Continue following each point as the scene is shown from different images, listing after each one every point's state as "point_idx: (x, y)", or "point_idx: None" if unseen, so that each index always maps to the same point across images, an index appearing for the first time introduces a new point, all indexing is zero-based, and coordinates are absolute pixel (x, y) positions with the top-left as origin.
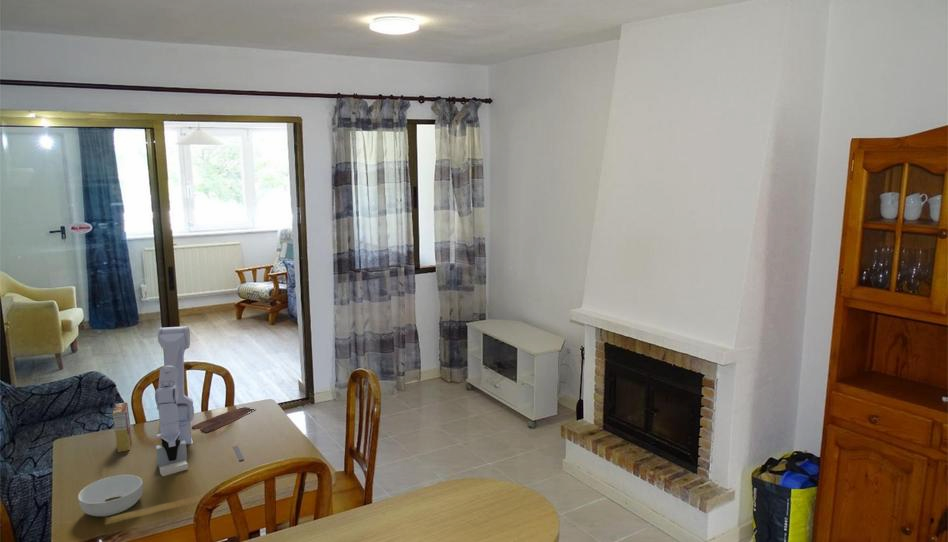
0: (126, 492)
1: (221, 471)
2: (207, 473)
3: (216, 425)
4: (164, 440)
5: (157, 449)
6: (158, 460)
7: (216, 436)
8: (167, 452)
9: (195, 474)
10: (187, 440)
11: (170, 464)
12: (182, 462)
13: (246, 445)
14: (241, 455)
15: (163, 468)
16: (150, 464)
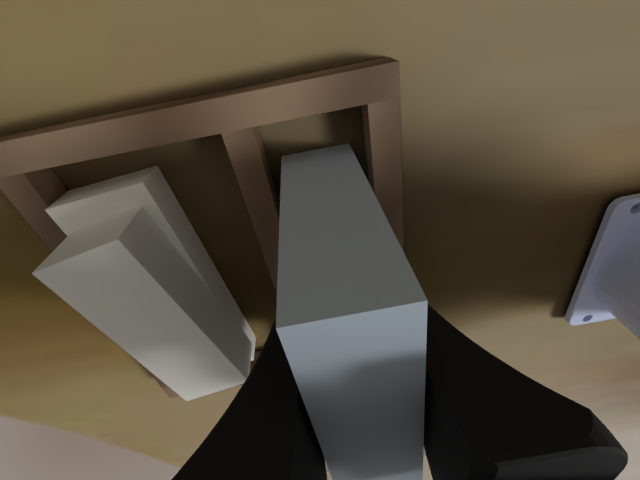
0: None
1: (196, 437)
2: (182, 403)
3: None
4: (462, 457)
5: (280, 324)
6: (282, 213)
7: (615, 381)
8: (255, 372)
9: None
10: (632, 332)
11: (180, 314)
12: (210, 374)
13: (427, 462)
14: (327, 470)
15: (87, 277)
16: (464, 55)
